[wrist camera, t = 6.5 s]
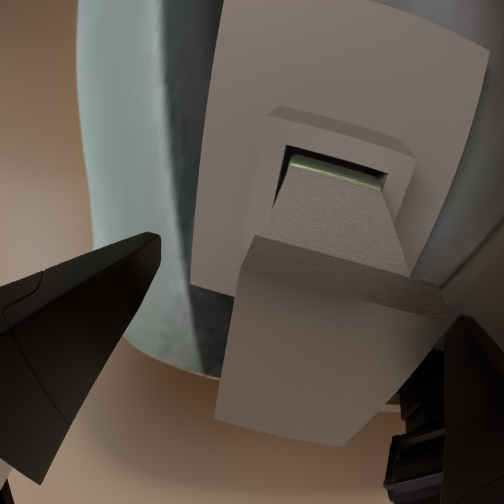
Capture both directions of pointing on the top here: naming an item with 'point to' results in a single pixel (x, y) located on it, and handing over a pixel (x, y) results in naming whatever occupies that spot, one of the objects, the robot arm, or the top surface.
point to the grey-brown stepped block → (324, 312)
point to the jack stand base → (328, 117)
